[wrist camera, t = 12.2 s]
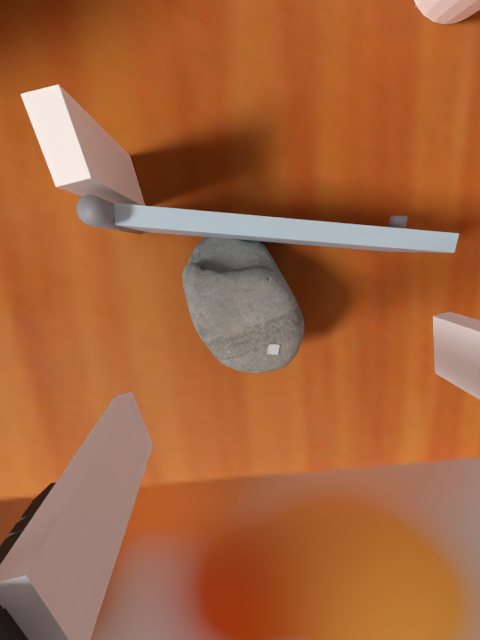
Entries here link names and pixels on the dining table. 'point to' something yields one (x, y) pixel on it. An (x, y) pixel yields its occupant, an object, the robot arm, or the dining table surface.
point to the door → (262, 228)
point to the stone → (242, 305)
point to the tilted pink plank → (80, 149)
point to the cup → (447, 9)
